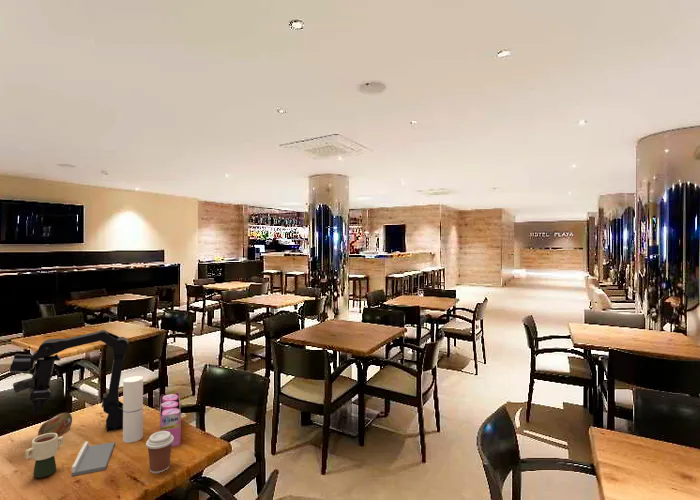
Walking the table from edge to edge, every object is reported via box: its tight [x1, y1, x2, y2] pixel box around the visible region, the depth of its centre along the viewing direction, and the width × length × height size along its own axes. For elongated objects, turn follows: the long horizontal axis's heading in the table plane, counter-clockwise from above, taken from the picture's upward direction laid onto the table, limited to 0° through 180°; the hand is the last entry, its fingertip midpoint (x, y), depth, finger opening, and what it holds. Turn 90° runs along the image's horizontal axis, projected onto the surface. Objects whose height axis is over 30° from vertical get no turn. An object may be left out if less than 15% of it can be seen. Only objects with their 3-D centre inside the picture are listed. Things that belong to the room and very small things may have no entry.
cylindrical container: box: [122, 375, 144, 444], centre depth 155 cm, size 7×7×25 cm
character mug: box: [25, 433, 64, 478], centre depth 130 cm, size 11×7×13 cm, turn 150°
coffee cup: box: [145, 430, 174, 474], centre depth 135 cm, size 9×9×12 cm
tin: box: [37, 412, 73, 437], centre depth 155 cm, size 15×3×8 cm, turn 179°
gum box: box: [159, 391, 182, 448], centre depth 159 cm, size 24×8×14 cm, turn 26°
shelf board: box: [71, 440, 116, 477], centre depth 139 cm, size 10×18×3 cm, turn 23°
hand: (35, 412), depth 147 cm, fingers open, 9 cm apart
